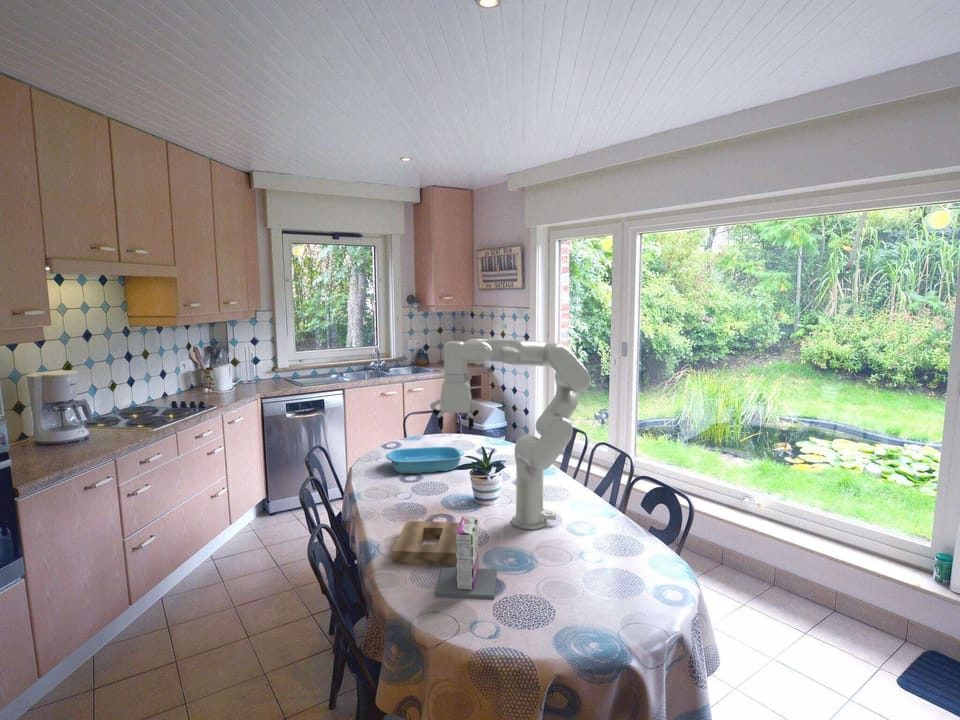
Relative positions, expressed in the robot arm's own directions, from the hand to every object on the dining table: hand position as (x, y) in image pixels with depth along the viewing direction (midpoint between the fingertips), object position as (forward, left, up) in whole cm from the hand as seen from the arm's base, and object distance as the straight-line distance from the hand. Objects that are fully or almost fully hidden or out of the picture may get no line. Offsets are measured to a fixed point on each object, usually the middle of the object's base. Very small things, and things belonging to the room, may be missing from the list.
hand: (456, 429), depth 183 cm
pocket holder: (+7, +12, -36) cm, 39 cm away
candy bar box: (-7, +33, -36) cm, 49 cm away
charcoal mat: (-7, +33, -36) cm, 50 cm away
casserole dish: (+23, -70, -37) cm, 82 cm away
